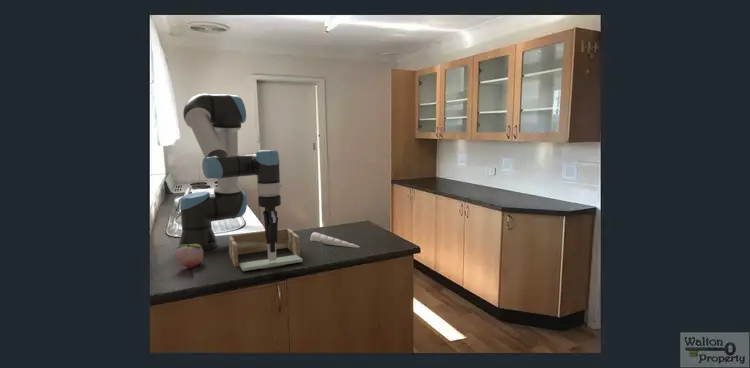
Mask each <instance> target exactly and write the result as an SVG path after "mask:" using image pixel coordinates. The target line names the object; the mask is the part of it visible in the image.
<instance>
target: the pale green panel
mask: <svg viewBox="0 0 750 368" xmlns="http://www.w3.org/2000/svg"><path fill="white" fill-rule="evenodd" d="M302 262H304V260H303V258H302V257H301V256H300V257H299V256H297V255H294V254H292V255H287V256H286V255H285V256H279V257H277V260H274V261H268V258H267V259H266V258H265V259H258V260H253V261H246V262H240V263H239V262H238V267H239V268H240V269H241V271H242V272H246V271H252V270H253V271H254V270H258V269H259V270H260V269H261V270H266V269H273V268H279V267H284V266H285V265H290V264H296V263H302Z"/></svg>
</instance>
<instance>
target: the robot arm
mask: <svg viewBox="0 0 750 368" xmlns="http://www.w3.org/2000/svg"><path fill="white" fill-rule="evenodd" d="M182 115H183V121H184V122H185V124H186V126H188V127H189V128H190V129H191V130H192V132H193V134H194V137H195V139H196V141H197V143H198V146H199V147H200V150H201V152H202V155H203V156H204V157H203V159H202V165H201V168H202V173H203V175H204V177H205V178H206V179H210V180H211V179H212V180H213V179H216V180H217V186H216V187H214V189H213V194H211V193H210V192H209V191H205V190H204V191H198V192H192V193H187V194H185V195H183V196H182V197H181V198H180V201H179V210H180V219H181V221H180V222H181V235H180V239H179V243H178V247H179V246H181V245H183V244H189V242H190V244H199V245H200V246H201V247H202V249H203V252H204V251H210V250H212V249H215V248H217V246H218V240H217V237H216V235H215V233H214V230H213V228H212V227H213V226H212V222H216V221H224V220H230V219H232V220H234V219H237V218H242V217H243V216H244V215H245V213H246V211H247V207H248V199H247V194H246V192H245V191H243V189H242V187H241V186H240V185H239V177H240V178H241V177H248V176H249V177H252V176H256V177H257V194H258V200H257V201H258V206H259V207H260V208H264V211H263V212H262V215H263V223H264V231H265V234H266V239H267V242H266V243H267V248H268V250H267V259H268V261H274V260H277V258H278V257H277V249H276V242H277V230H278V225H279V224H278V221H279V217H278V211H277V210H276V207H279V206H281V204H282V200H281V188H282V186H283V185H282V184H281V183H280V182H281V181H280V180H281V177H280V173H281V172H280V161H281V160H280V155H279V151H278V150H276V149H261V150H257V151H256V153H250V154H240V155H239V149H238V146H239V145H238V143H239V142H238V140H239V139H238V135H239V133H238V131H239V130H241V128H242V124H244V123H245V122H246V119H247V111H246V106H245V103H244V101H243V99H242V98H241V97H240V96H238V95H234V94H216V93H215V94H211V93H210V94H208V93H200V94H197V95H194V96H192V97H191V98H190V99H189V100H188V101H187V102H186V104H185V106H184V108H183V112H182ZM179 248H180V247H179ZM179 248H178V249H179Z"/></svg>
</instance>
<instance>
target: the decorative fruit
mask: <svg viewBox="0 0 750 368" xmlns="http://www.w3.org/2000/svg"><path fill="white" fill-rule="evenodd" d="M179 247H180V248H179ZM176 250H177V251H176V255H175V258H176V259H175V260H176V261H177V263H179V265H181V266H183V267H184V268H187V269H193V268H194V267H197V266H199V264H200V263H201V262H202V261H203V260H204V251H203V249H202V247H201V246H200V245H199V244H190V242H189V244H183V245H181V246H179V245H178V247H176Z"/></svg>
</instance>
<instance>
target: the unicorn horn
mask: <svg viewBox="0 0 750 368" xmlns="http://www.w3.org/2000/svg"><path fill="white" fill-rule="evenodd" d="M309 240H310V242H319V243H321V244H323V245H328V246H337V247H347V248H361V247H360V246H359V245H357V244H354V243H350V242H349V241H345V240H342V239H340V238H335V237H333V236H328V235H325V234H323V233H320V232H317V231H316V232H315V231H314V232H312V234H310V239H309Z"/></svg>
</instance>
